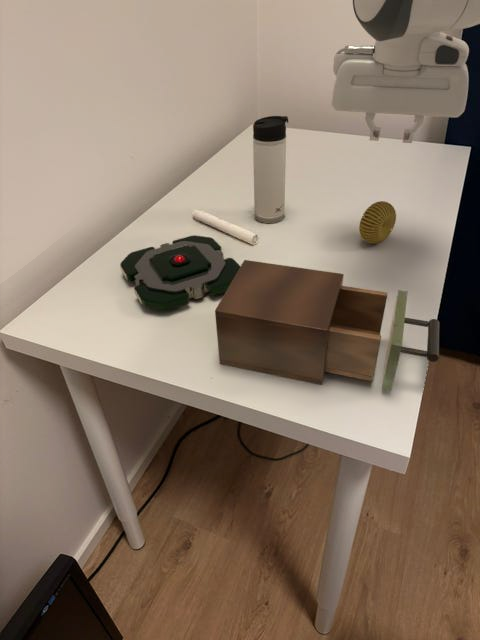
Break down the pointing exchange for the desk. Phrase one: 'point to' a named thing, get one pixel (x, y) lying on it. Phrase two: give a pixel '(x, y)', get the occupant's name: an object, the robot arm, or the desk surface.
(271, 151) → the travel mug
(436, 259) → the desk surface
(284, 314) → the cabinet
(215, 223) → the white rod
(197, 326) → the desk surface
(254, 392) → the desk surface
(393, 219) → the sculpture
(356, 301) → the drawer
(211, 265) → the flat green button pad
